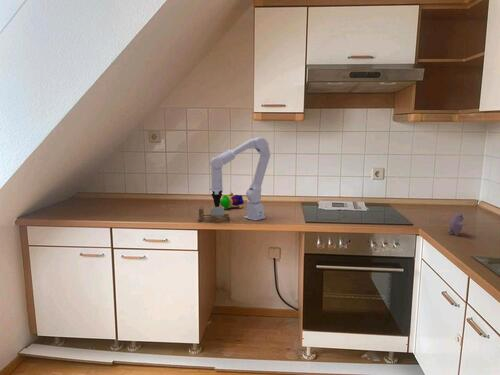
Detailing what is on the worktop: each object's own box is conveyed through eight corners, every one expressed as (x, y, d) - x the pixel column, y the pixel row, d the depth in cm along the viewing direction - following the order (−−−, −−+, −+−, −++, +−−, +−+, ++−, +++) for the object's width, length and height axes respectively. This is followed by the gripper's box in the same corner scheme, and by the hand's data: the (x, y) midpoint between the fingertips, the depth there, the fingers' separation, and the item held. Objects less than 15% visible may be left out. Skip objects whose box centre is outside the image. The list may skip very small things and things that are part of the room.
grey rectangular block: (224, 217, 201) (224, 207, 200) (224, 218, 199) (224, 207, 198) (211, 218, 200) (211, 207, 199) (211, 218, 199) (210, 208, 198)
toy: (235, 194, 236) (214, 197, 228) (241, 188, 230) (220, 190, 222) (241, 211, 232) (220, 214, 224) (247, 205, 226) (226, 207, 217)
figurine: (466, 238, 168) (469, 216, 166) (452, 238, 169) (454, 215, 167) (456, 231, 179) (458, 210, 178) (443, 230, 180) (445, 209, 179)
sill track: (229, 218, 204) (229, 205, 203) (229, 221, 197) (229, 208, 196) (200, 218, 203) (199, 206, 202) (199, 221, 196) (198, 209, 195)
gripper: (209, 178, 203) (210, 202, 206) (208, 182, 189) (209, 208, 191) (222, 178, 204) (223, 202, 206) (222, 182, 189) (222, 208, 192)
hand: (217, 205), depth 199 cm, fingers open, 7 cm apart
